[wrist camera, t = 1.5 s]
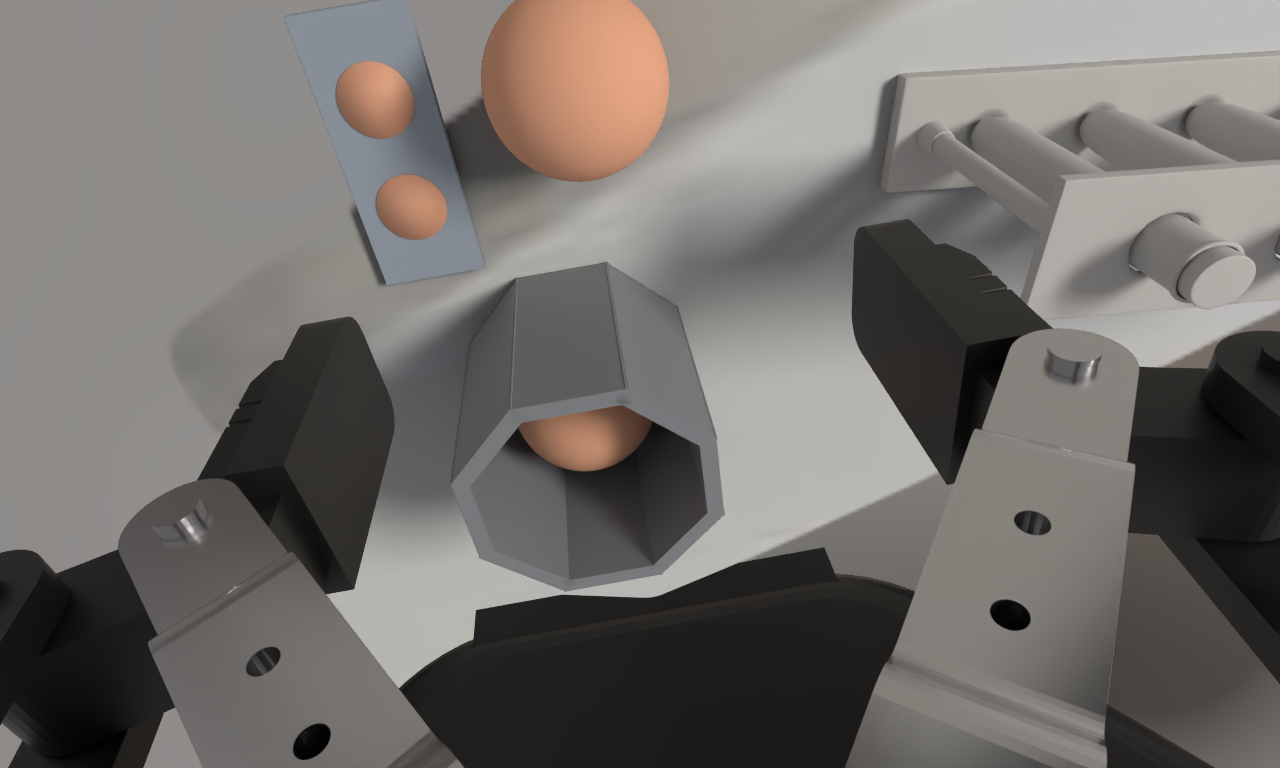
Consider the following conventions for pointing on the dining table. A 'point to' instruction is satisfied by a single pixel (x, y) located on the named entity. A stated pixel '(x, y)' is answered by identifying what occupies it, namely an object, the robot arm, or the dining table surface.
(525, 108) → the ball
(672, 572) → the dining table surface
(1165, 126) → the test tube rack
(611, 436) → the ball in tube
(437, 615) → the dining table surface
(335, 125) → the card
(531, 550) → the tube
